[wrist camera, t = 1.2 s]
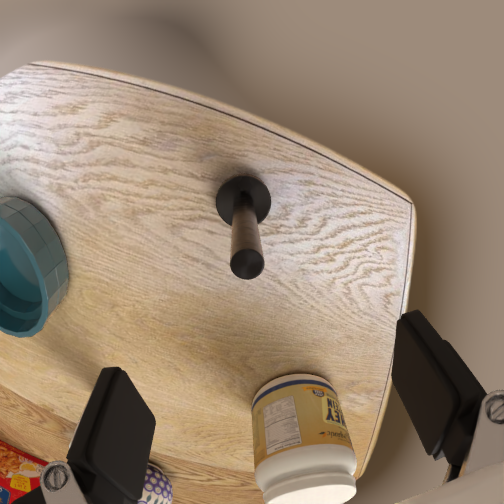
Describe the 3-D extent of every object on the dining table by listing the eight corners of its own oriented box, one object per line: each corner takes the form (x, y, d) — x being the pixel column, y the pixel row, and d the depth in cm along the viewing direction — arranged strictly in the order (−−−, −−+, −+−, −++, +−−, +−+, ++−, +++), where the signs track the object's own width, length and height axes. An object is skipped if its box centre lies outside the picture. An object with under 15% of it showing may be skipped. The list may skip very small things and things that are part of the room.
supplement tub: (347, 399, 42) (377, 493, 26) (278, 430, 44) (290, 522, 29) (311, 355, 37) (342, 472, 22) (233, 393, 40) (234, 504, 24)
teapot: (98, 431, 44) (78, 496, 31) (177, 450, 46) (169, 520, 33) (113, 479, 54) (103, 528, 40) (173, 493, 56) (168, 543, 42)
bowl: (-31, 215, 28) (-59, 231, 22) (43, 177, 27) (11, 191, 21) (12, 315, 34) (-9, 339, 28) (91, 302, 33) (71, 333, 28)
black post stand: (211, 179, 28) (188, 230, 15) (264, 168, 28) (286, 210, 15) (223, 229, 30) (213, 312, 17) (274, 218, 30) (300, 295, 17)
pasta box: (50, 463, 54) (25, 543, 28) (57, 474, 57) (36, 549, 31) (-24, 426, 50) (-55, 491, 25) (-14, 439, 53) (-42, 502, 28)
